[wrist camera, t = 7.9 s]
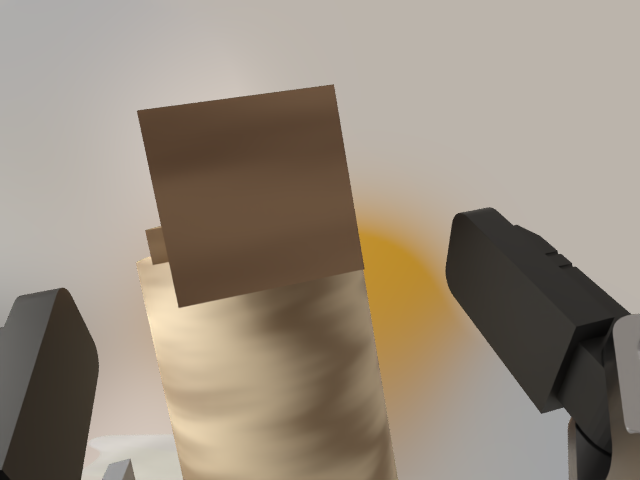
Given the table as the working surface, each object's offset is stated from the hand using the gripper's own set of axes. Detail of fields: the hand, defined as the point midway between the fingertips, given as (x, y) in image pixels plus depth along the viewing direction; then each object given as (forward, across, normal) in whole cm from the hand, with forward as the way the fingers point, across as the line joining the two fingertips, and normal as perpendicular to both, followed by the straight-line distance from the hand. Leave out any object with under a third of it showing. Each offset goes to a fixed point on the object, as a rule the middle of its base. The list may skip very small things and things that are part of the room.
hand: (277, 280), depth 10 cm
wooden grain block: (+9, 0, +6) cm, 11 cm away
